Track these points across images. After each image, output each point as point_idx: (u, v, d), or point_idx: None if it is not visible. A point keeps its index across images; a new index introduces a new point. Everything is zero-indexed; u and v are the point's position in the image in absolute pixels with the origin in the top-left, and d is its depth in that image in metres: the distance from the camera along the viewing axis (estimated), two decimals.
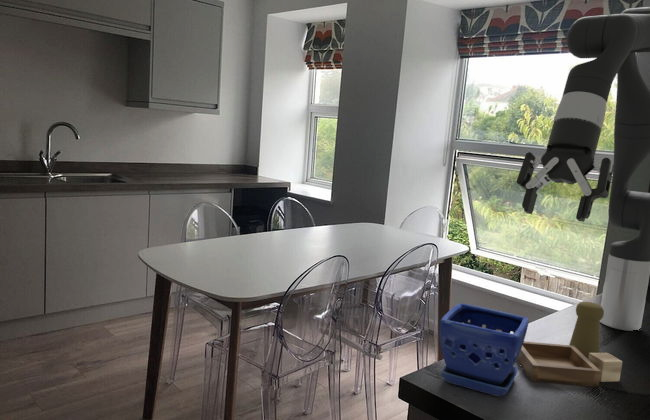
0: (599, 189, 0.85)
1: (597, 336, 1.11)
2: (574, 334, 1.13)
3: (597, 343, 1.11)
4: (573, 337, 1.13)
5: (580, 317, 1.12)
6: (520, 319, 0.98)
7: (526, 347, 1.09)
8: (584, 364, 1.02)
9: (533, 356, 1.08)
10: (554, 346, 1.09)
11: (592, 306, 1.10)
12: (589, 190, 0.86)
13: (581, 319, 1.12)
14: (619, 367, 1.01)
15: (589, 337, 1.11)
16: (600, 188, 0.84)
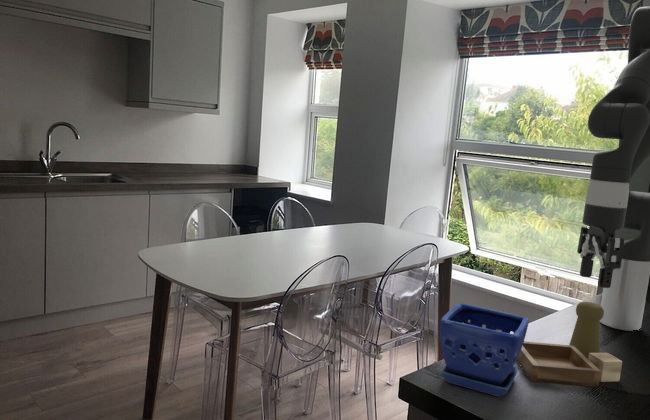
0: (605, 264, 1.04)
1: (597, 336, 1.11)
2: (574, 334, 1.13)
3: (597, 343, 1.11)
4: (573, 337, 1.13)
5: (580, 317, 1.12)
6: (520, 319, 0.98)
7: (526, 347, 1.09)
8: (584, 364, 1.02)
9: (533, 356, 1.08)
10: (554, 346, 1.09)
11: (592, 306, 1.10)
12: (602, 264, 1.06)
13: (581, 319, 1.12)
14: (618, 367, 1.01)
15: (589, 337, 1.11)
16: (606, 263, 1.04)
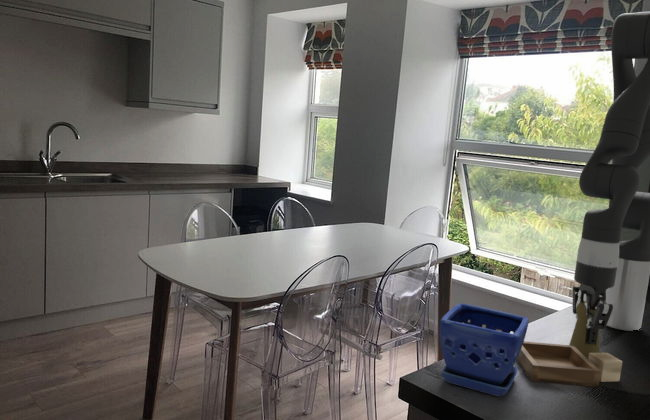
0: (591, 324, 1.08)
1: (597, 336, 1.11)
2: (574, 334, 1.13)
3: (597, 343, 1.11)
4: (573, 337, 1.13)
5: (580, 317, 1.12)
6: (520, 319, 0.98)
7: (526, 347, 1.09)
8: (584, 364, 1.02)
9: (533, 356, 1.08)
10: (554, 346, 1.09)
11: None
12: (588, 324, 1.10)
13: (581, 318, 1.12)
14: (619, 367, 1.01)
15: None
16: (591, 324, 1.08)
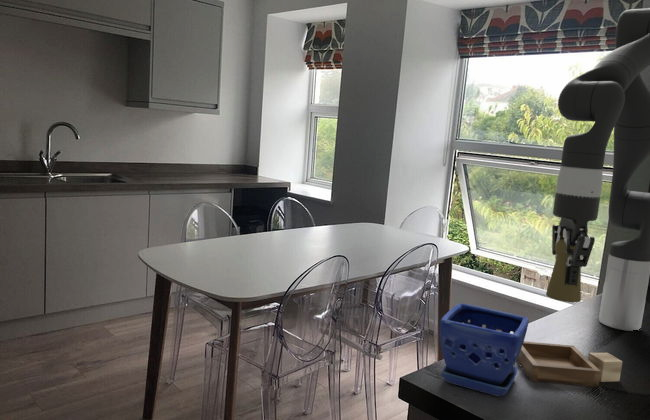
0: (570, 261, 0.97)
1: (578, 276, 0.99)
2: (552, 275, 1.01)
3: (578, 284, 0.99)
4: (552, 278, 1.02)
5: (559, 255, 1.00)
6: (520, 319, 0.98)
7: (526, 347, 1.09)
8: (584, 364, 1.02)
9: (533, 356, 1.08)
10: (554, 346, 1.09)
11: None
12: (568, 262, 0.98)
13: (560, 257, 1.00)
14: (619, 367, 1.01)
15: None
16: (571, 261, 0.97)
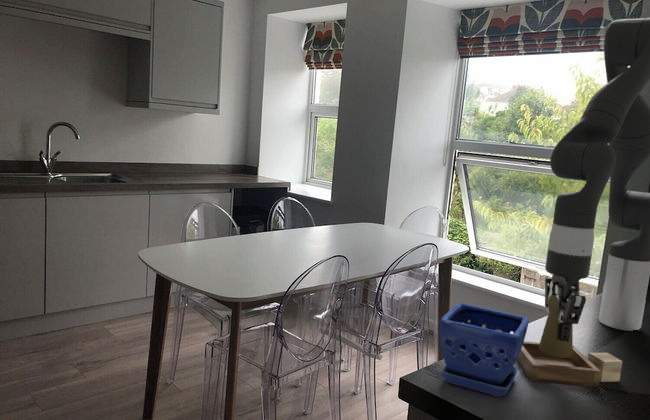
0: (562, 319, 0.98)
1: (570, 332, 1.01)
2: (545, 330, 1.03)
3: (570, 339, 1.01)
4: (544, 333, 1.03)
5: (551, 311, 1.02)
6: (520, 319, 0.98)
7: (526, 347, 1.09)
8: (584, 364, 1.02)
9: (533, 356, 1.08)
10: None
11: None
12: (560, 318, 1.00)
13: (552, 312, 1.02)
14: (619, 367, 1.01)
15: None
16: (563, 318, 0.98)
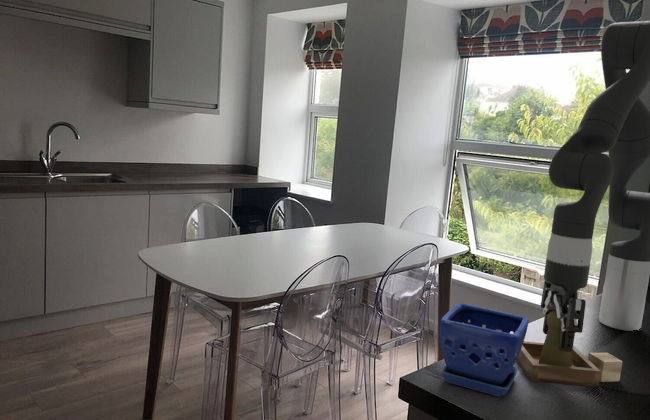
0: (566, 327, 0.96)
1: None
2: (544, 347, 1.03)
3: (569, 357, 1.01)
4: (543, 350, 1.03)
5: (550, 328, 1.02)
6: (520, 319, 0.98)
7: (526, 347, 1.09)
8: (584, 364, 1.02)
9: (533, 356, 1.08)
10: None
11: None
12: (563, 326, 0.98)
13: (551, 330, 1.02)
14: (619, 367, 1.01)
15: (560, 350, 1.00)
16: (566, 327, 0.96)
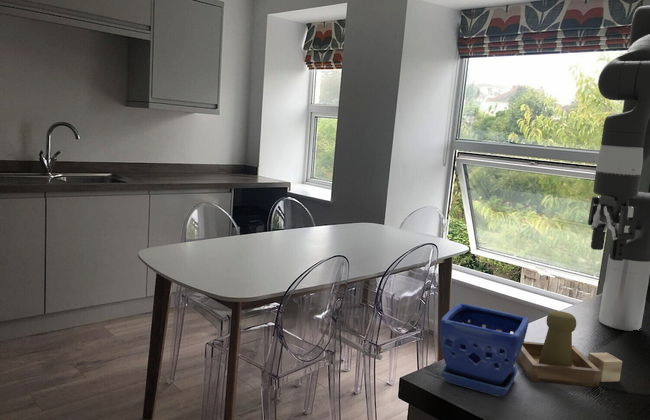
0: (618, 235, 0.98)
1: (569, 349, 1.01)
2: (544, 347, 1.03)
3: (569, 357, 1.01)
4: (543, 350, 1.03)
5: (550, 328, 1.02)
6: (520, 319, 0.98)
7: (526, 347, 1.09)
8: (584, 364, 1.02)
9: (533, 356, 1.08)
10: None
11: (563, 316, 1.00)
12: (615, 235, 0.99)
13: (551, 330, 1.02)
14: (619, 367, 1.01)
15: (560, 350, 1.00)
16: (618, 234, 0.97)
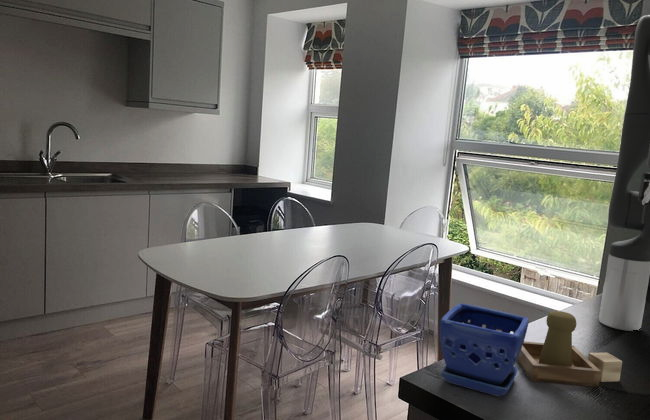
0: None
1: (569, 349, 1.01)
2: (544, 347, 1.03)
3: (569, 357, 1.01)
4: (543, 350, 1.03)
5: (550, 328, 1.02)
6: (520, 319, 0.98)
7: (526, 347, 1.09)
8: (584, 364, 1.02)
9: (533, 356, 1.08)
10: None
11: (563, 316, 1.00)
12: None
13: (551, 330, 1.02)
14: (619, 367, 1.01)
15: (560, 350, 1.00)
16: None
